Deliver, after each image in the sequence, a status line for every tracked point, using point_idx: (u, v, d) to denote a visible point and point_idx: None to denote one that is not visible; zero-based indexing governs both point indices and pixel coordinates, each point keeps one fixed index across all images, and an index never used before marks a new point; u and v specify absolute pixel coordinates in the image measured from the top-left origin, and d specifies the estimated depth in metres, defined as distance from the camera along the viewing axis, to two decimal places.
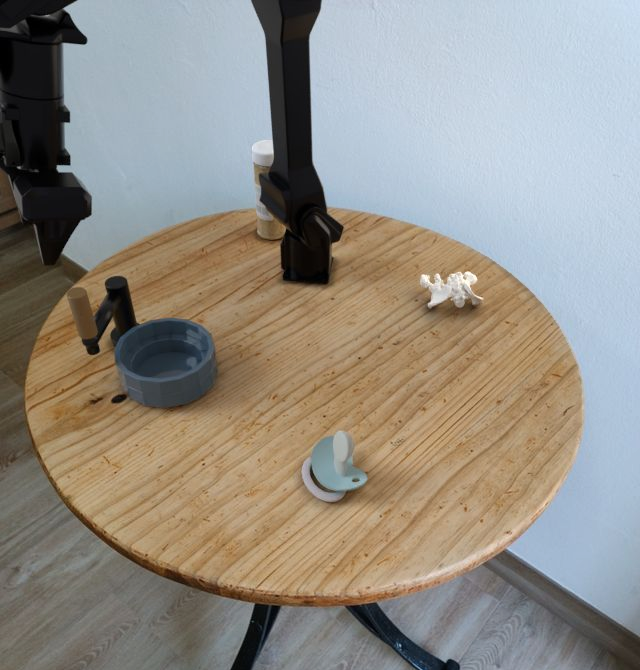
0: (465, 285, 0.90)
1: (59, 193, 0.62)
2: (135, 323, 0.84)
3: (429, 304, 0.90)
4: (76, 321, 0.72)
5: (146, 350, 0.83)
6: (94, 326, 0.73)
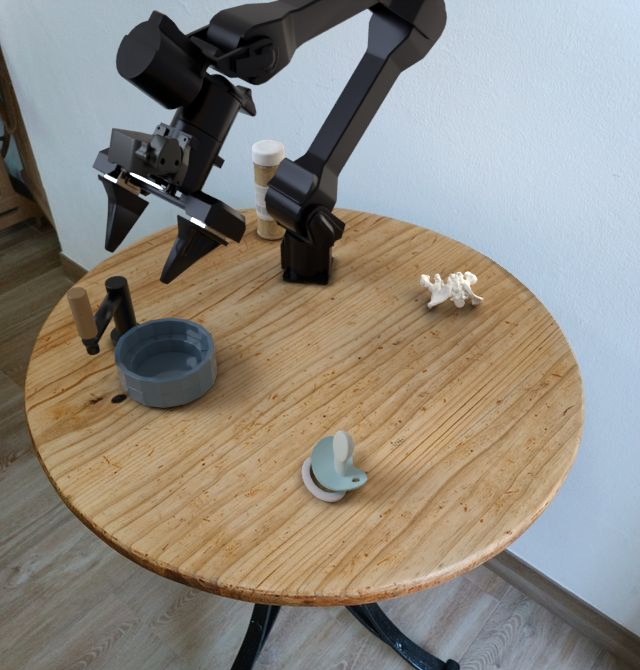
0: (465, 285, 0.90)
1: (234, 214, 0.70)
2: (135, 323, 0.84)
3: (429, 304, 0.90)
4: (76, 321, 0.72)
5: (146, 350, 0.83)
6: (94, 326, 0.73)
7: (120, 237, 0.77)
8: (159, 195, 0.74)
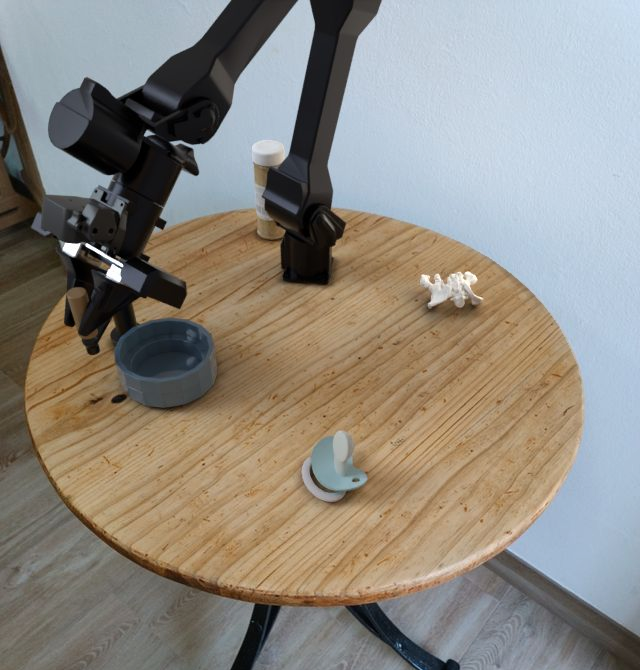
0: (465, 285, 0.90)
1: (173, 281, 0.68)
2: (135, 323, 0.84)
3: (429, 304, 0.90)
4: (76, 321, 0.72)
5: (146, 350, 0.83)
6: None
7: None
8: (99, 258, 0.72)
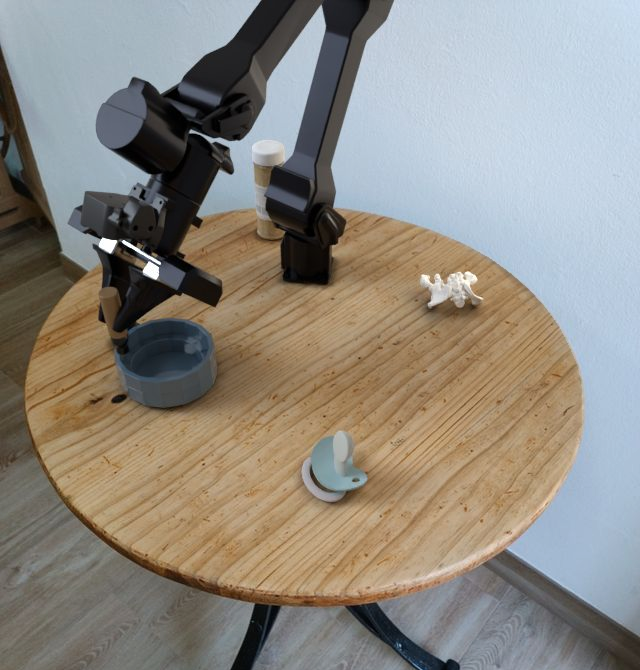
0: (465, 285, 0.90)
1: (210, 279, 0.68)
2: (136, 321, 0.85)
3: (429, 304, 0.90)
4: (110, 321, 0.72)
5: (146, 350, 0.83)
6: None
7: None
8: (135, 255, 0.72)
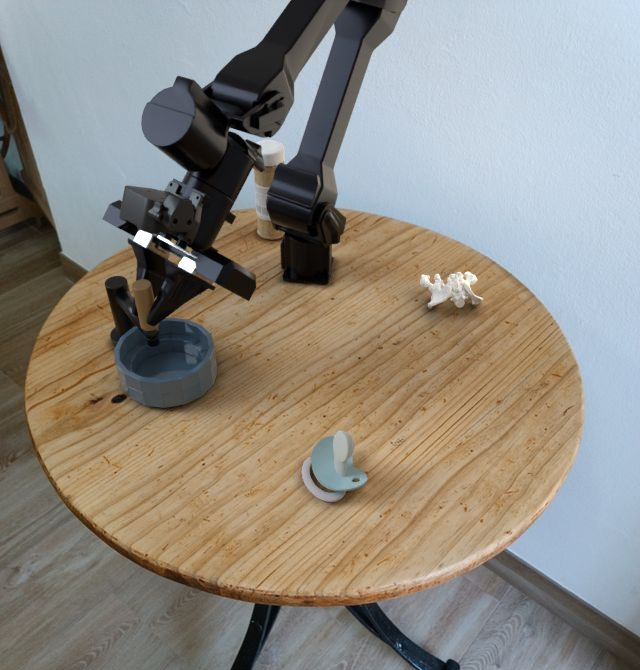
0: (465, 285, 0.90)
1: (245, 273, 0.69)
2: None
3: (429, 304, 0.90)
4: (146, 314, 0.73)
5: (146, 350, 0.83)
6: None
7: None
8: (169, 250, 0.73)
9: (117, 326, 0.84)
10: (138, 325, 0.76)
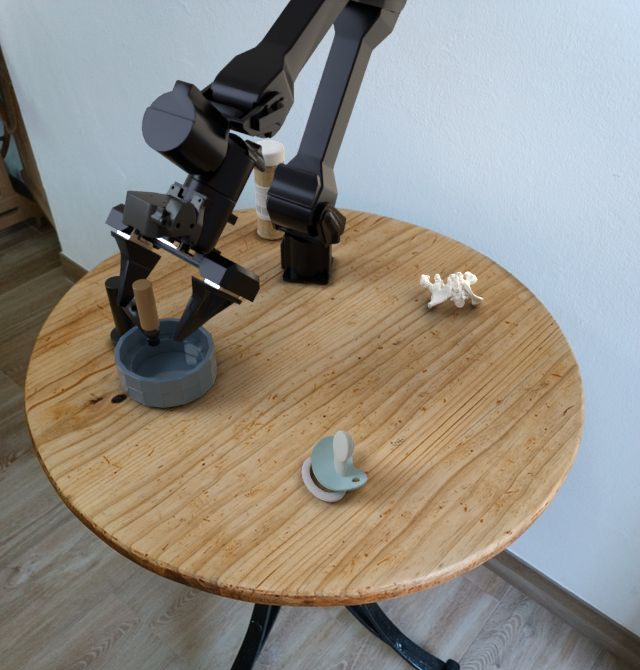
0: (465, 285, 0.90)
1: (249, 275, 0.70)
2: None
3: (429, 304, 0.90)
4: (147, 313, 0.73)
5: (146, 350, 0.83)
6: (157, 313, 0.75)
7: (132, 292, 0.77)
8: (172, 252, 0.74)
9: (117, 326, 0.84)
10: (138, 325, 0.76)
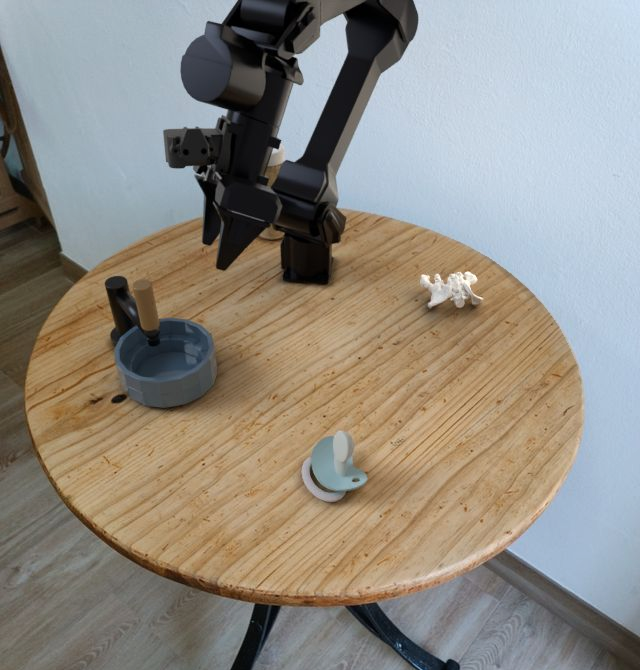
0: (465, 285, 0.90)
1: (257, 193, 0.68)
2: None
3: (429, 304, 0.90)
4: (147, 313, 0.73)
5: (146, 350, 0.83)
6: (157, 313, 0.75)
7: (215, 230, 0.83)
8: None
9: (117, 326, 0.84)
10: (138, 325, 0.76)
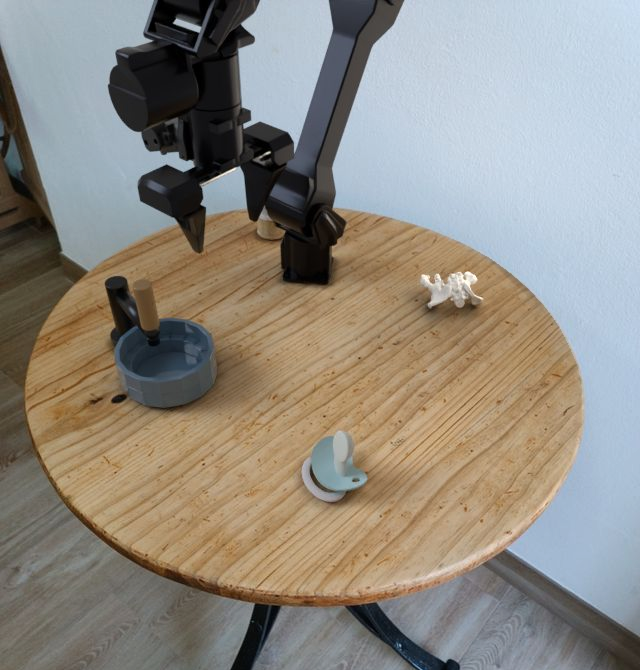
0: (465, 285, 0.90)
1: (154, 188, 0.69)
2: None
3: (429, 304, 0.90)
4: (147, 313, 0.73)
5: (146, 350, 0.83)
6: (157, 313, 0.75)
7: (255, 207, 0.82)
8: None
9: (117, 326, 0.84)
10: (138, 325, 0.76)
